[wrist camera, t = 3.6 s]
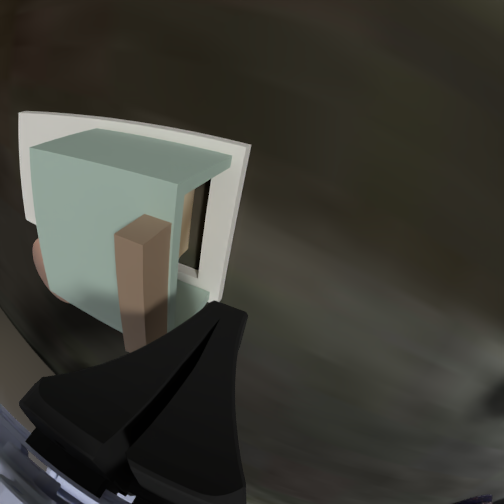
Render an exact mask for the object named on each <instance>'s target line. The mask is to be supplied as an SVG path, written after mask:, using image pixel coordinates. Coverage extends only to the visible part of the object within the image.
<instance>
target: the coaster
mask: <svg viewBox="0 0 504 504" xmlns="http://www.w3.org/2000/svg"><path fill="white" fill-rule="evenodd" d="M33 258H34V263H35V266H36V268H37V271H38V273H39V275H40V277H41V279H42V280H43V282H44V283H45V285H46V286H47V288H48V289H49V290H50V288H49V284H48V280H47V276H46V272H45V267H44V263H43V258H42V253H41V248H40V243H39V238H38V239H37V240H36V241H35V242H34V245H33ZM51 292H52V291H51ZM52 293H53V292H52ZM53 294H54V295H55V296H56V297H57V298H59V299H60V300H62V301H64V302H66V303H69V302H68V301H66V300H64V299H63V298H61V297H60V296H58V295H57V294H55V293H53Z"/></svg>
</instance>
